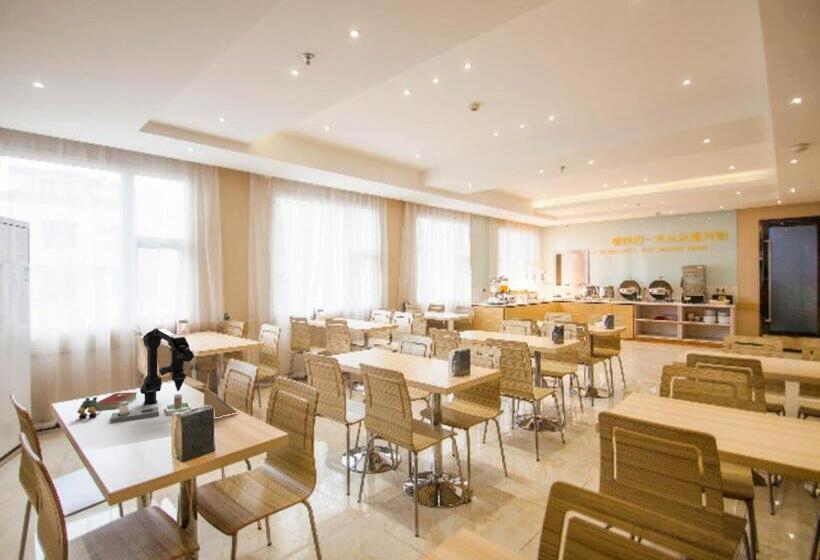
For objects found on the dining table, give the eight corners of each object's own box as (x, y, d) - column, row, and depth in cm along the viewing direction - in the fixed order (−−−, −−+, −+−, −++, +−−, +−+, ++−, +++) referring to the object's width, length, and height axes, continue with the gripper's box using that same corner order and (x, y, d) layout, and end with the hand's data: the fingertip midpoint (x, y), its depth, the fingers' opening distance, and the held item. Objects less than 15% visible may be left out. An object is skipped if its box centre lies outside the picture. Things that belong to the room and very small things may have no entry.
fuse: (119, 417, 213) (119, 401, 213) (128, 416, 215) (128, 400, 215) (119, 419, 210) (119, 403, 210) (128, 418, 212) (128, 402, 212)
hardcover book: (93, 410, 228) (93, 402, 228) (115, 399, 249) (115, 392, 249) (117, 409, 230) (117, 402, 230) (137, 398, 250) (137, 391, 250)
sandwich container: (240, 414, 222) (240, 385, 222) (209, 420, 212) (209, 390, 212) (234, 410, 228) (234, 382, 228) (203, 416, 218) (203, 387, 218)
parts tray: (165, 409, 228) (165, 405, 228) (188, 406, 234) (188, 402, 234) (166, 416, 218) (166, 411, 218) (191, 412, 224) (191, 407, 224)
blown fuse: (173, 409, 226) (173, 394, 226) (181, 408, 228) (181, 393, 228) (174, 411, 223) (174, 396, 223) (182, 410, 225) (182, 395, 225)
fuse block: (112, 418, 214) (112, 413, 214) (158, 411, 225) (158, 406, 225) (111, 423, 206) (111, 418, 206) (158, 416, 217) (158, 411, 217)
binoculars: (78, 423, 213) (73, 409, 208) (84, 408, 220) (79, 395, 215) (99, 421, 216) (95, 408, 211) (105, 407, 223) (101, 394, 218)
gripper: (159, 358, 230) (159, 387, 230) (160, 364, 214) (160, 395, 214) (182, 356, 236) (182, 384, 236) (185, 362, 220) (185, 392, 220)
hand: (177, 388), depth 226 cm, fingers open, 9 cm apart
